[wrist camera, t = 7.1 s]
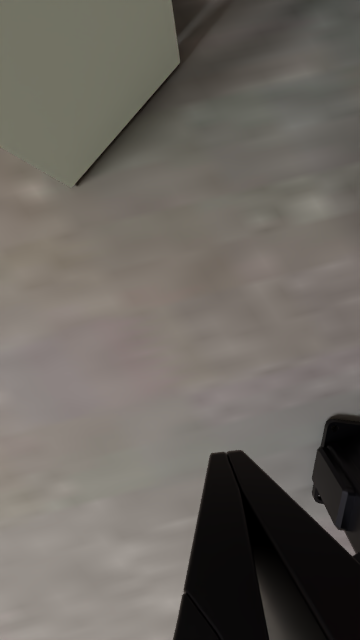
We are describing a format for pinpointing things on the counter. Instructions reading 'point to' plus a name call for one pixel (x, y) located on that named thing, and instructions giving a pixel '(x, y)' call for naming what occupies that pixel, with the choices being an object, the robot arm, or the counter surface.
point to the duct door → (78, 76)
